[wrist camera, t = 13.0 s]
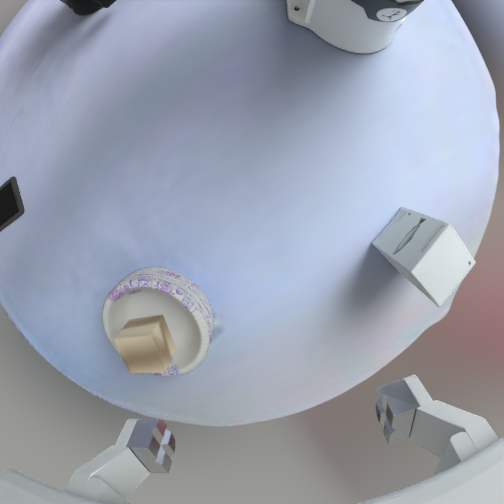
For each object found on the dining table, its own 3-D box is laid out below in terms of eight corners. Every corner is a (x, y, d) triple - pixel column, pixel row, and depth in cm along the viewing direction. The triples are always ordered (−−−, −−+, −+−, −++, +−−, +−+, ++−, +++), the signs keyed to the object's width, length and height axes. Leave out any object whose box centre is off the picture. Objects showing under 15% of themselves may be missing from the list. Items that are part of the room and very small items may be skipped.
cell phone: (-18, 205, 39) (-20, 206, 38) (16, 174, 37) (13, 174, 36) (-8, 238, 41) (-11, 239, 40) (26, 211, 39) (23, 212, 38)
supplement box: (401, 204, 38) (451, 220, 25) (428, 238, 39) (478, 263, 27) (369, 242, 39) (409, 272, 27) (398, 273, 40) (440, 309, 28)
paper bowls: (143, 352, 45) (127, 381, 38) (109, 270, 41) (84, 290, 34) (229, 341, 44) (223, 373, 36) (200, 249, 40) (187, 267, 32)
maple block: (129, 319, 35) (113, 339, 30) (162, 314, 34) (150, 335, 29) (143, 351, 36) (130, 373, 31) (176, 347, 35) (166, 371, 31)
